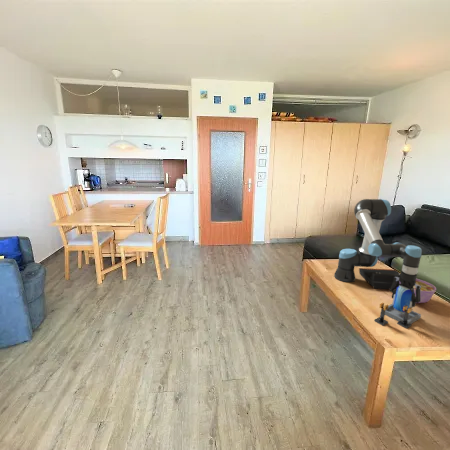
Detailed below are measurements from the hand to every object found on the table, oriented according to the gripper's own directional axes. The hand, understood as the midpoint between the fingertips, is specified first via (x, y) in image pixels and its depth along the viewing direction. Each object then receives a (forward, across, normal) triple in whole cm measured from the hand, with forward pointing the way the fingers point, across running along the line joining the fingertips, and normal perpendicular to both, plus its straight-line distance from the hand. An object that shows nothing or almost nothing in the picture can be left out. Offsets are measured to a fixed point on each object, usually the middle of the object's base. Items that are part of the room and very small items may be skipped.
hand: (401, 307), depth 153 cm
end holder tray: (+6, 0, 0) cm, 6 cm away
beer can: (+3, 0, 0) cm, 3 cm away
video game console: (+6, -30, +37) cm, 48 cm away
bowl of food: (+6, -5, +28) cm, 29 cm away
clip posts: (+6, +2, -13) cm, 14 cm away
